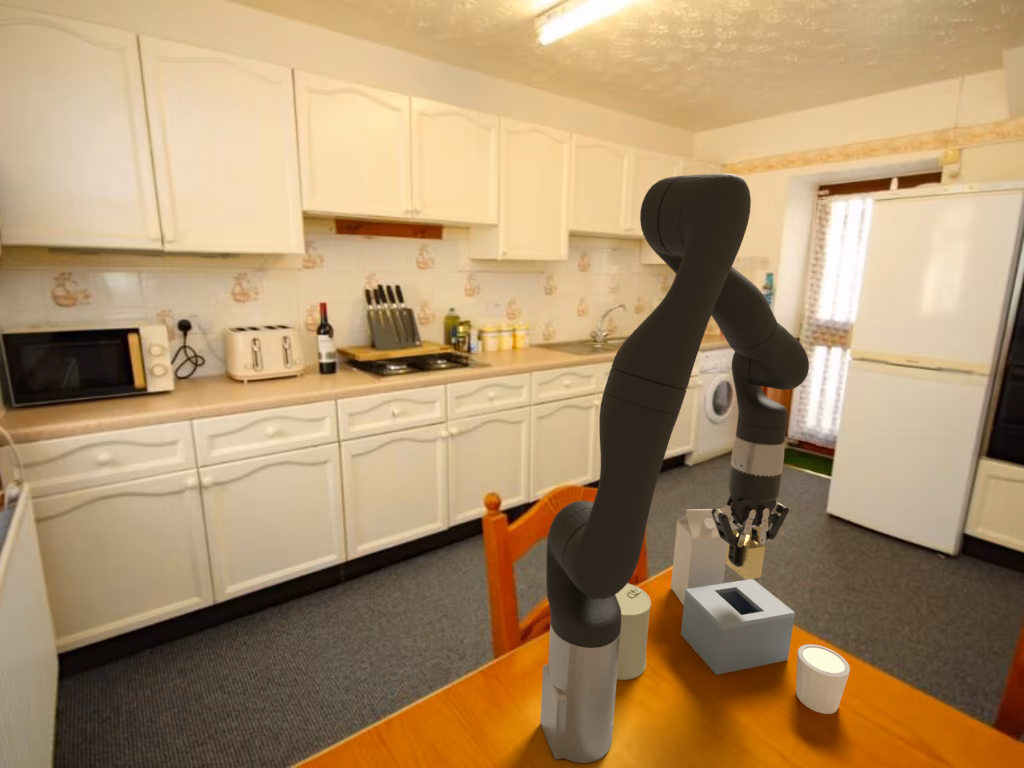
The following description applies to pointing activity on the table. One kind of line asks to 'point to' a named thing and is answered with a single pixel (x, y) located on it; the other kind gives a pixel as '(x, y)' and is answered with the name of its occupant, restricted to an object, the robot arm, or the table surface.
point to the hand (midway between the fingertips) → (744, 562)
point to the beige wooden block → (749, 559)
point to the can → (633, 631)
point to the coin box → (737, 625)
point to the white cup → (820, 678)
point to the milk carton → (697, 553)
